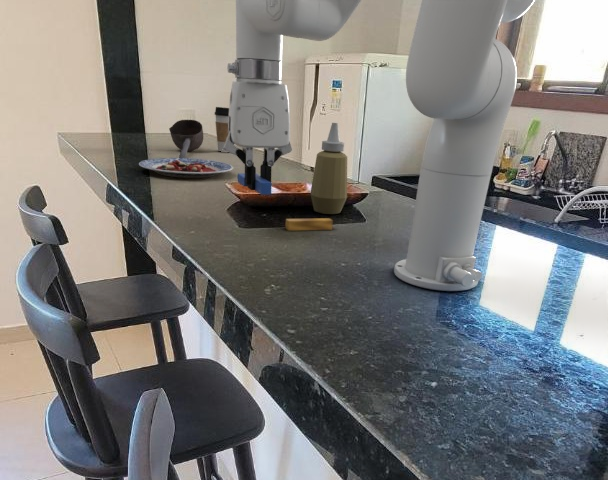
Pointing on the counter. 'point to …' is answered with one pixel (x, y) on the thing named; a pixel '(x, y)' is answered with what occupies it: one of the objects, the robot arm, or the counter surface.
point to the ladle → (187, 136)
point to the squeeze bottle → (330, 175)
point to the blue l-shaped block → (257, 184)
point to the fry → (309, 224)
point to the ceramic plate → (186, 167)
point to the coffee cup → (222, 126)
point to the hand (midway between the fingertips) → (257, 188)
